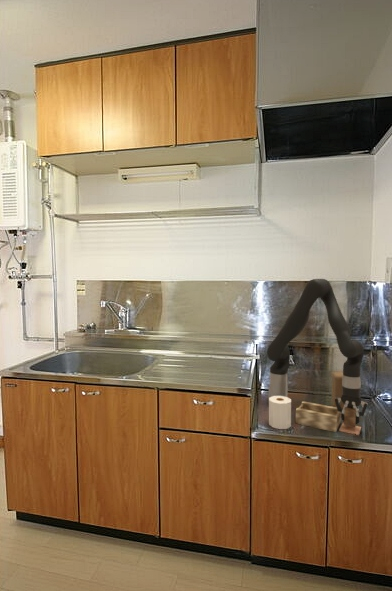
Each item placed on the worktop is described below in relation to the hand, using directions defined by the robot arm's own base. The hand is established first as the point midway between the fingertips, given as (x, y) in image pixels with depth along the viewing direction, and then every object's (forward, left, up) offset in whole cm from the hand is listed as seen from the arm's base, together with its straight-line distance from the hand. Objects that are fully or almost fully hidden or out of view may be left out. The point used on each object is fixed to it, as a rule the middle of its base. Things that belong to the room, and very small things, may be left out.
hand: (350, 422), depth 156 cm
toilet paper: (-29, -11, -4) cm, 31 cm away
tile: (0, 0, -3) cm, 3 cm away
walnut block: (0, 0, -1) cm, 1 cm away
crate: (-14, 0, -3) cm, 14 cm away
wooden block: (-6, +19, -4) cm, 20 cm away
